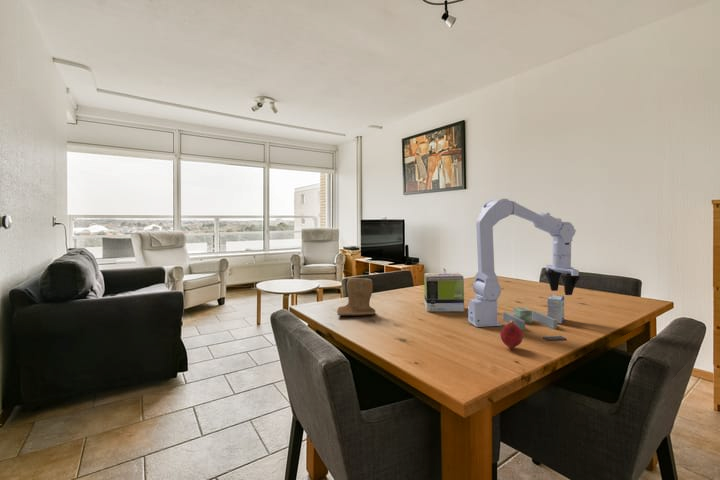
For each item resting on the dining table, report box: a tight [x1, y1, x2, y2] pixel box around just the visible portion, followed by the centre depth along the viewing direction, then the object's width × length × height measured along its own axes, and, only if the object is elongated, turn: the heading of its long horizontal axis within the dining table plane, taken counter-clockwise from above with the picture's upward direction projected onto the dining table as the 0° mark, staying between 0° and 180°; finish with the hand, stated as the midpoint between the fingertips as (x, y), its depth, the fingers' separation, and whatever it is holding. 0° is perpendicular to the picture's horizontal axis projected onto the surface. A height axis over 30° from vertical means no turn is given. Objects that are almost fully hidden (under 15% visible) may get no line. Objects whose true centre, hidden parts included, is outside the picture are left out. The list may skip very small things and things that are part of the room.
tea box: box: [423, 272, 465, 312], centre depth 142 cm, size 15×10×15 cm, turn 84°
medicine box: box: [546, 294, 565, 325], centre depth 123 cm, size 8×4×9 cm, turn 143°
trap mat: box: [542, 335, 567, 342], centre depth 104 cm, size 6×2×1 cm, turn 95°
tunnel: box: [502, 310, 558, 331], centre depth 120 cm, size 12×12×3 cm
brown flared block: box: [336, 277, 376, 317], centre depth 136 cm, size 15×12×15 cm
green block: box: [512, 306, 533, 324], centre depth 123 cm, size 4×4×4 cm
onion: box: [499, 321, 524, 350], centre depth 97 cm, size 6×6×8 cm
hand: (561, 292), depth 123 cm, fingers open, 7 cm apart
